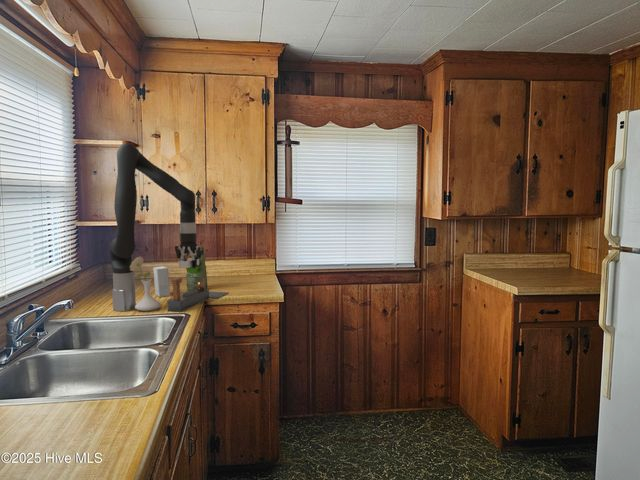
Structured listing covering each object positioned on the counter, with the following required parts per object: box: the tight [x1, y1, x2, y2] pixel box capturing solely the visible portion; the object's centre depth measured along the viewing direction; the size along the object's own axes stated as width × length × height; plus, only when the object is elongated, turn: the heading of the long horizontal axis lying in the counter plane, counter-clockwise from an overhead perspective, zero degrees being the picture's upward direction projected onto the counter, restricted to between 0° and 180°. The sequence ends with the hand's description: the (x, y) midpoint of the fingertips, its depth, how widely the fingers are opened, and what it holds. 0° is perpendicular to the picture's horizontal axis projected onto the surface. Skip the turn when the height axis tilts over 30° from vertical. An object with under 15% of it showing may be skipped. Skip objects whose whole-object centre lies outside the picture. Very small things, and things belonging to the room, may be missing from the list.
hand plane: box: [167, 277, 210, 313], centre depth 227 cm, size 26×6×14 cm, turn 164°
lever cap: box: [177, 258, 199, 269], centre depth 226 cm, size 10×5×4 cm, turn 164°
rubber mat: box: [209, 290, 229, 300], centre depth 247 cm, size 12×12×1 cm
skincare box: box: [152, 265, 171, 298], centre depth 248 cm, size 8×6×15 cm
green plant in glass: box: [185, 245, 208, 291], centre depth 261 cm, size 11×12×25 cm
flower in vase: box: [130, 256, 162, 312], centre depth 217 cm, size 13×11×25 cm
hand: (189, 267), depth 226 cm, fingers closed on lever cap, 5 cm apart
